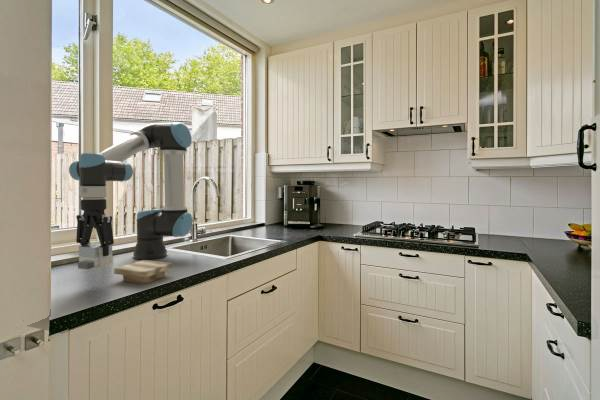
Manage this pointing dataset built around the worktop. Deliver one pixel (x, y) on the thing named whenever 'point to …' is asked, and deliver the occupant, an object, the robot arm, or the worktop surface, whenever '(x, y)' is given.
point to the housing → (91, 256)
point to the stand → (143, 271)
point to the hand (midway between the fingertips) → (95, 264)
